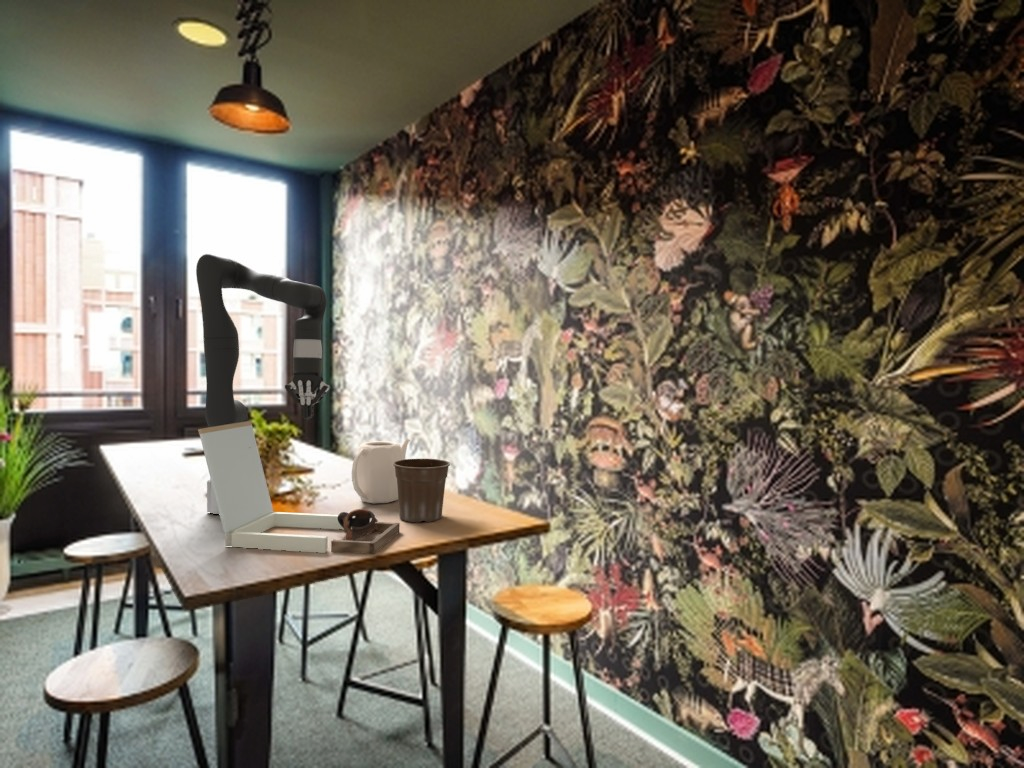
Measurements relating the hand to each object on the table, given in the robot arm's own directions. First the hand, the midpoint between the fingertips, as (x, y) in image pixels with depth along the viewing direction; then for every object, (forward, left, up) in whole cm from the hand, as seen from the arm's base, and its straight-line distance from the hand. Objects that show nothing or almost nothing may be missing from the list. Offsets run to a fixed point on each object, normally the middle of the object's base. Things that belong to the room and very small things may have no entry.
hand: (307, 418), depth 167 cm
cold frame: (+1, -15, -29) cm, 33 cm away
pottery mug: (+19, -12, -29) cm, 37 cm away
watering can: (+11, +30, -29) cm, 43 cm away
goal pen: (+23, -15, -29) cm, 40 cm away
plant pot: (+30, +10, -29) cm, 43 cm away
